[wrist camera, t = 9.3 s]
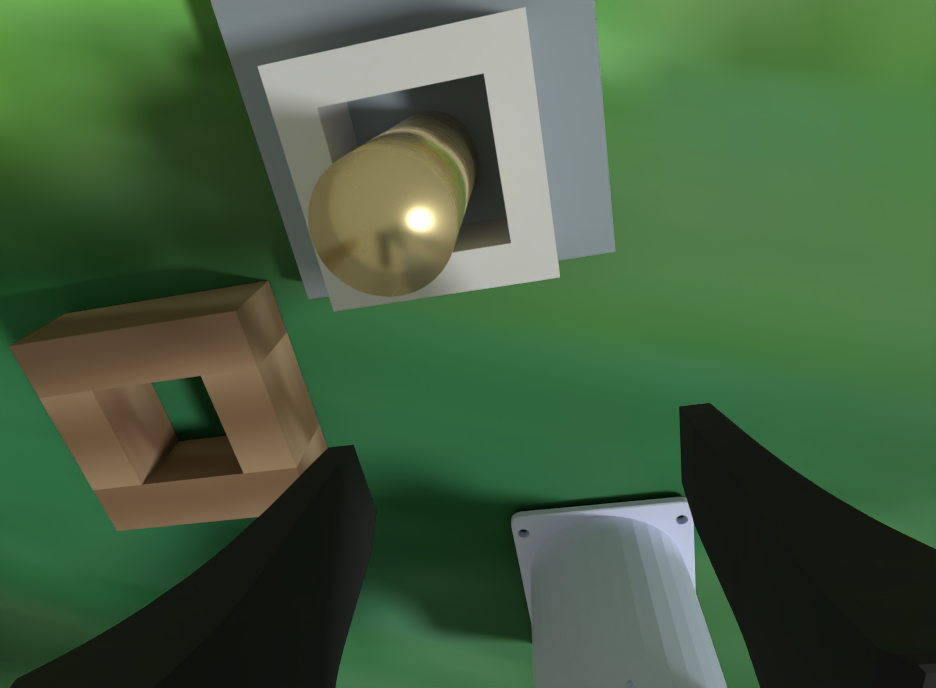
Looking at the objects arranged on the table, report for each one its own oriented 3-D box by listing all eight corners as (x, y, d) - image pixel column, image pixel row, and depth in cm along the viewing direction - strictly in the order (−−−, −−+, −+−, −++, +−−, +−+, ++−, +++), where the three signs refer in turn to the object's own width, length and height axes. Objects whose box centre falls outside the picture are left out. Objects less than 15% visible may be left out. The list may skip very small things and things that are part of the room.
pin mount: (334, 465, 27) (313, 511, 24) (155, 485, 28) (117, 531, 25) (268, 280, 23) (235, 310, 20) (65, 313, 24) (8, 346, 21)
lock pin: (483, 202, 19) (465, 290, 12) (395, 212, 20) (327, 302, 13) (472, 105, 18) (444, 139, 11) (378, 117, 18) (291, 158, 11)
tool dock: (609, 239, 21) (644, 309, 15) (320, 284, 23) (253, 364, 17) (554, -392, 14) (579, -695, 9) (148, -263, 16) (-63, -444, 10)
